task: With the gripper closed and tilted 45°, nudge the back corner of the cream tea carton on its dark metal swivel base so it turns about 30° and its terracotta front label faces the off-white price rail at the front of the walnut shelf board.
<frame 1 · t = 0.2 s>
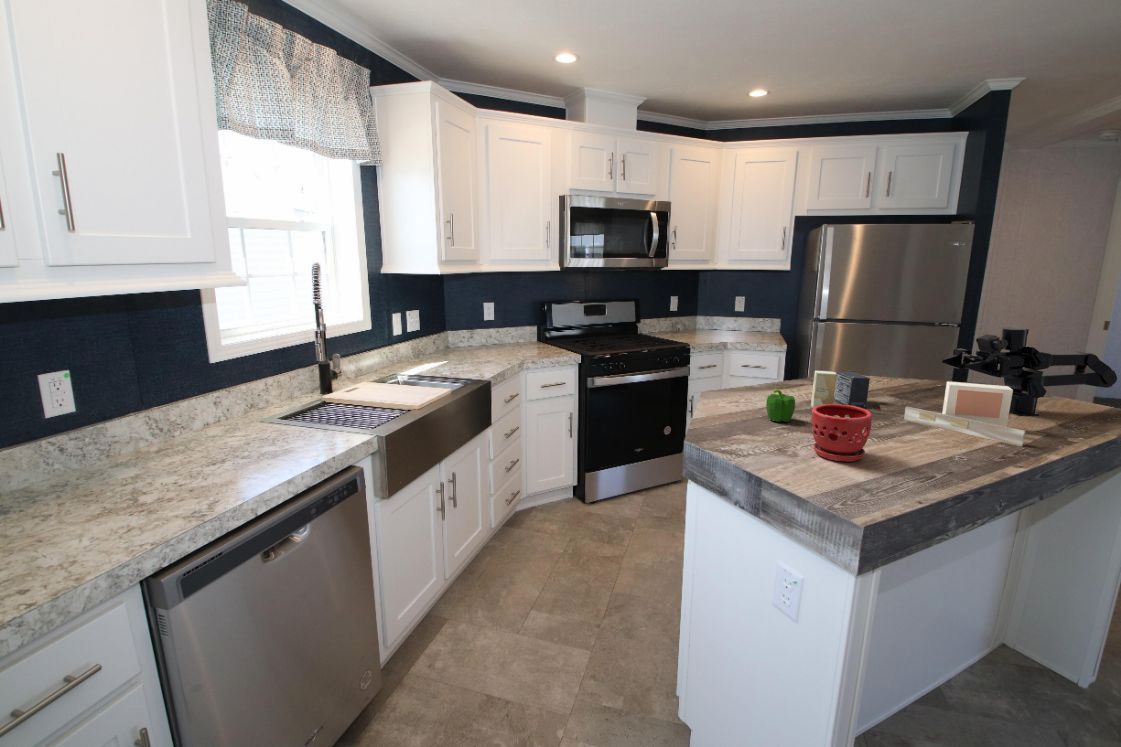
hand: (953, 363, 165), 17 cm above the worktop, tool horizontal, fingers open, 9 cm apart
small box: (849, 404, 182), on the worktop
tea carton: (975, 406, 150), point 8 cm above the worktop, hinge at 30.0°
plant pot: (836, 456, 133), on the worktop
shelf board: (971, 431, 151), on the worktop
skincare box: (821, 408, 178), on the worktop
bell pepper: (778, 421, 163), on the worktop
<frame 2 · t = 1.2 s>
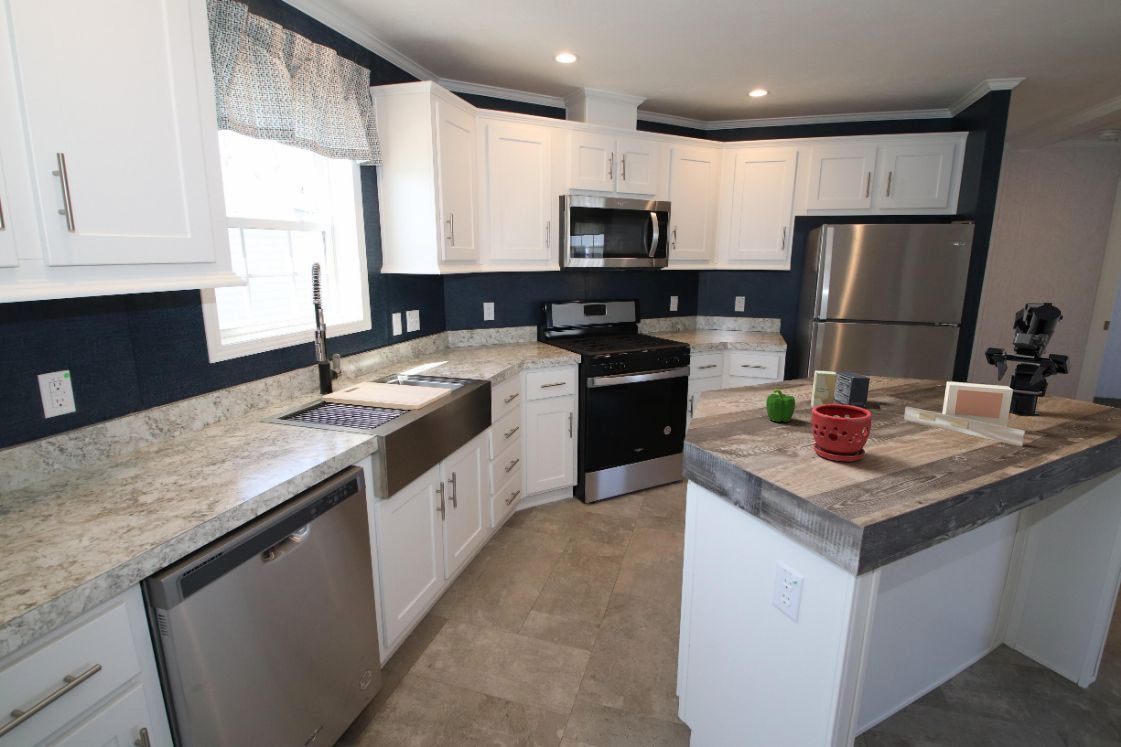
hand: (1014, 382, 152), 14 cm above the worktop, tool tilted 45°, fingers open, 7 cm apart
nothing on the worktop moved.
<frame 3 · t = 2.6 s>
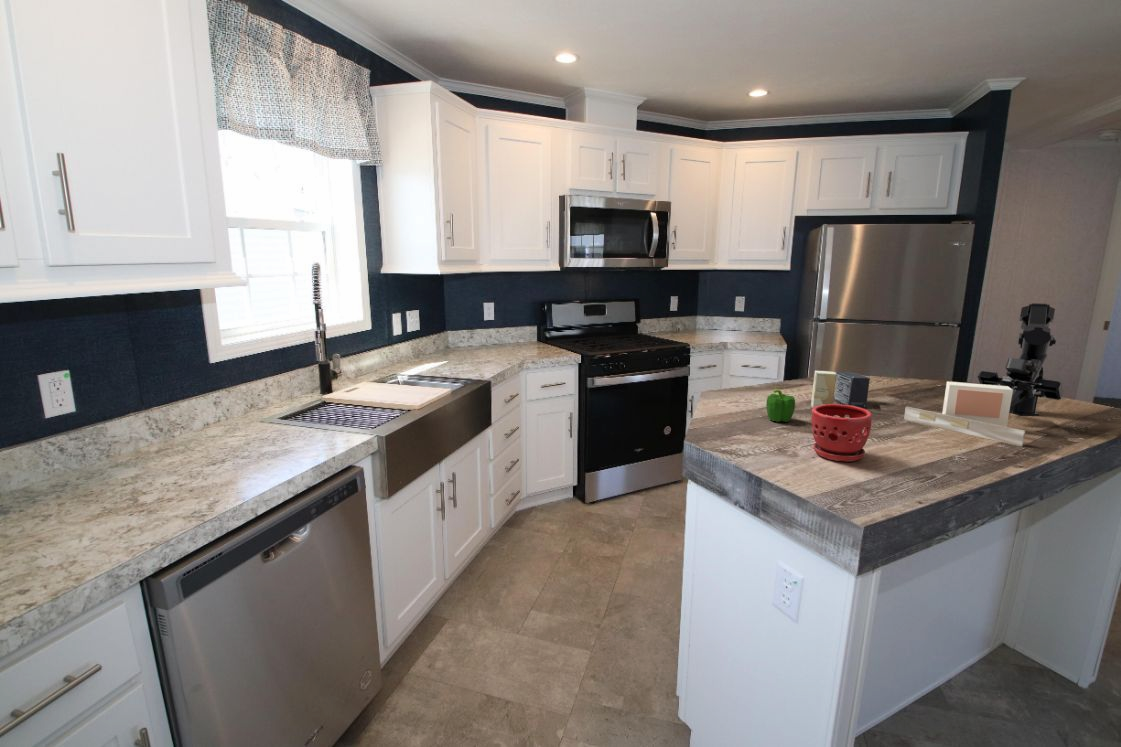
hand: (1007, 407, 152), 7 cm above the worktop, tool tilted 45°, fingers closed
nothing on the worktop moved.
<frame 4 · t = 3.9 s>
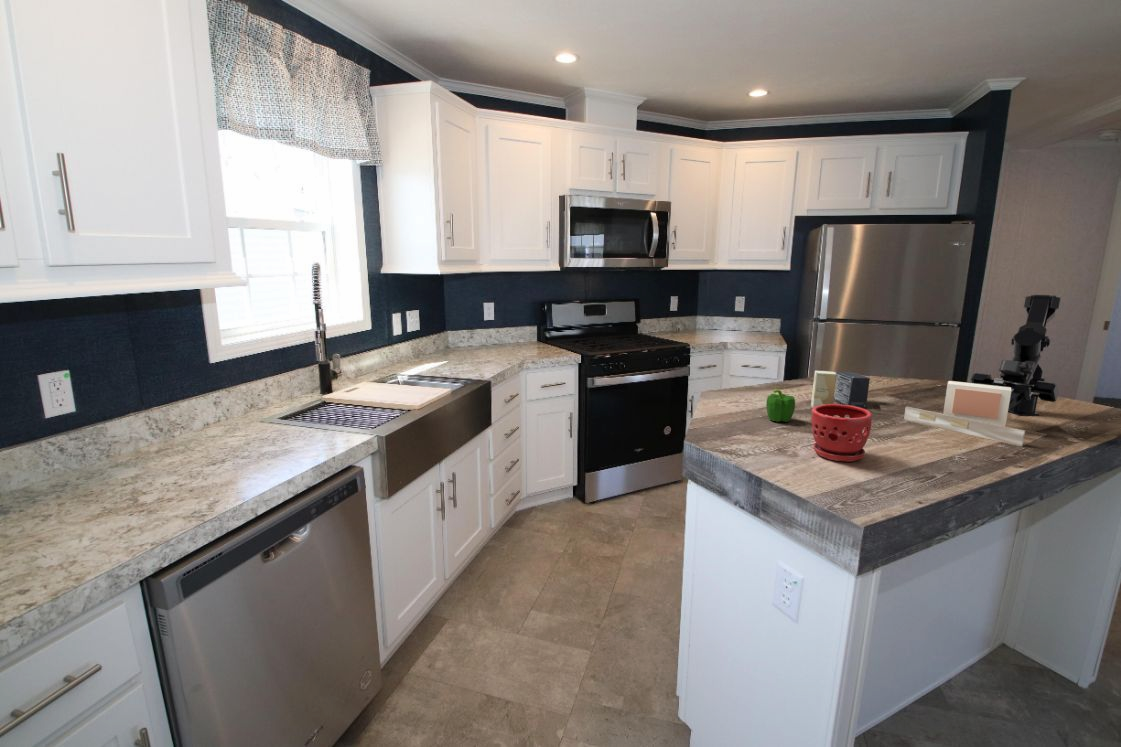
hand: (1001, 410, 148), 7 cm above the worktop, tool tilted 45°, fingers closed
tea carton: (975, 406, 150), point 8 cm above the worktop, hinge at 19.1°, touching gripper
everything else where it was.
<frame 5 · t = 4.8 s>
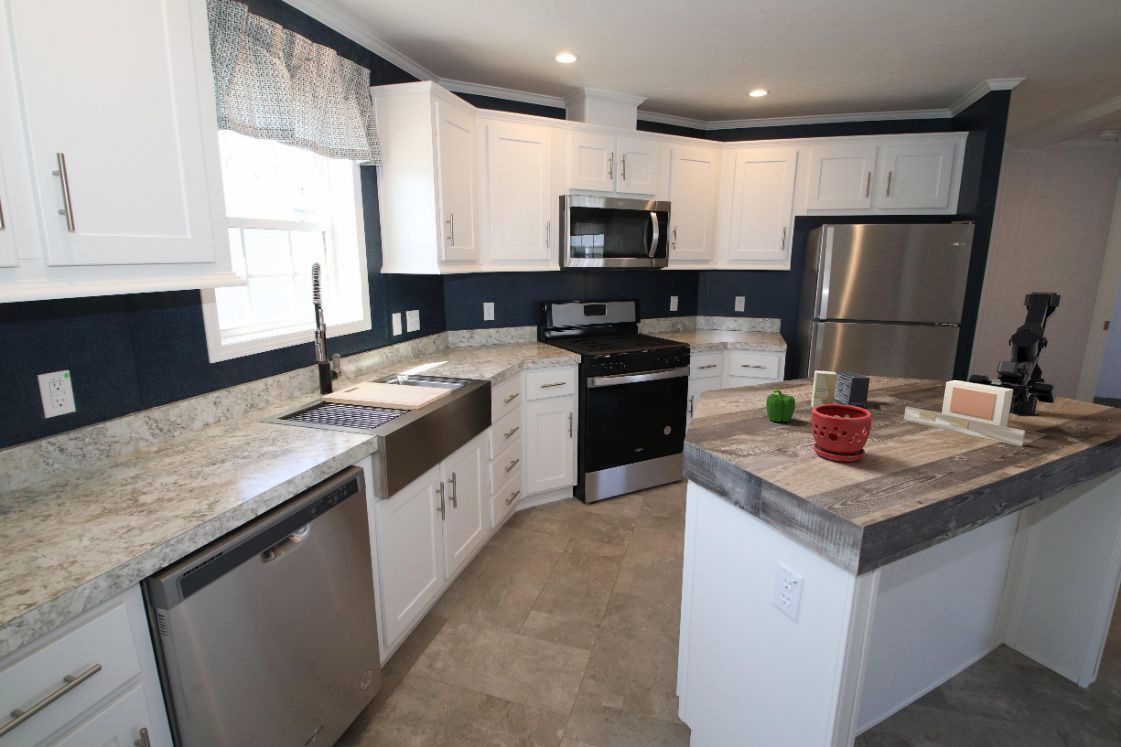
hand: (999, 411, 147), 7 cm above the worktop, tool tilted 45°, fingers closed on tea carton
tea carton: (975, 406, 150), point 8 cm above the worktop, hinge at -1.1°, touching gripper
everything else where it was.
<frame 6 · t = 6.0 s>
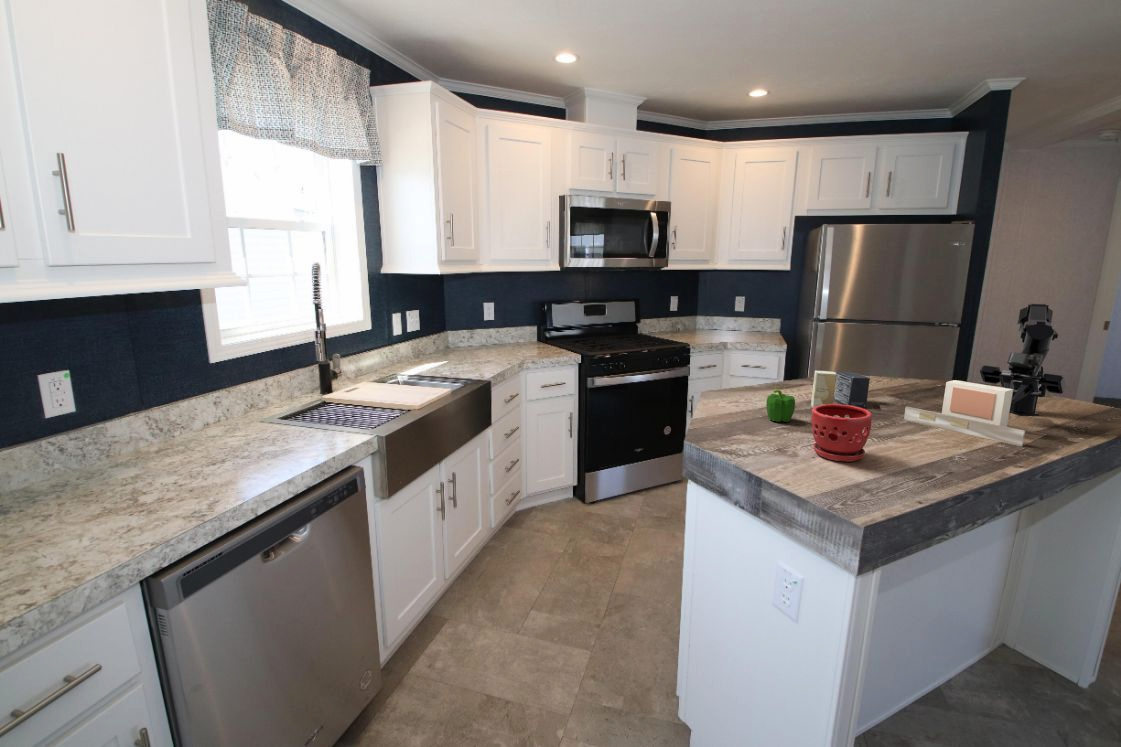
hand: (1009, 401, 152), 8 cm above the worktop, tool tilted 45°, fingers closed
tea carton: (975, 406, 150), point 8 cm above the worktop, hinge at -1.1°
everything else where it was.
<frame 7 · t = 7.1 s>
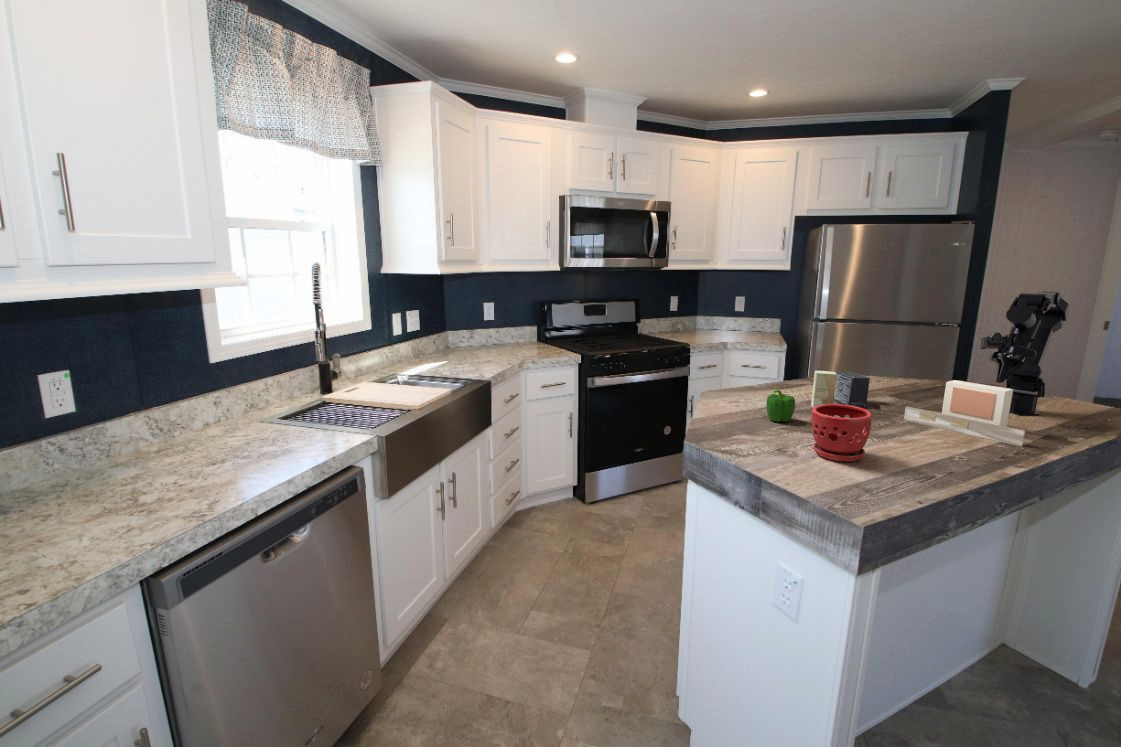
hand: (999, 382, 158), 12 cm above the worktop, tool tilted 25°, fingers closed
nothing on the worktop moved.
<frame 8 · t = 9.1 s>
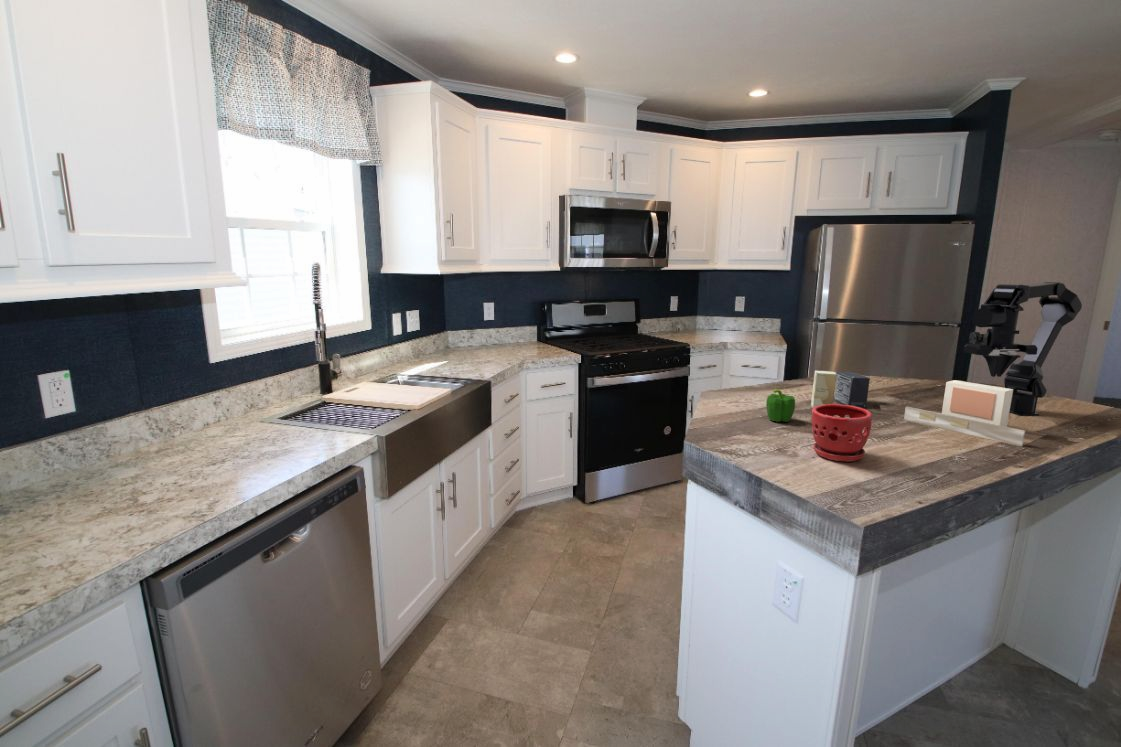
hand: (995, 376, 163), 13 cm above the worktop, tool pointing down, fingers closed
nothing on the worktop moved.
at the end: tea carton at -1° (first picture: +30°); small box moved 0.3 cm from its start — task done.
